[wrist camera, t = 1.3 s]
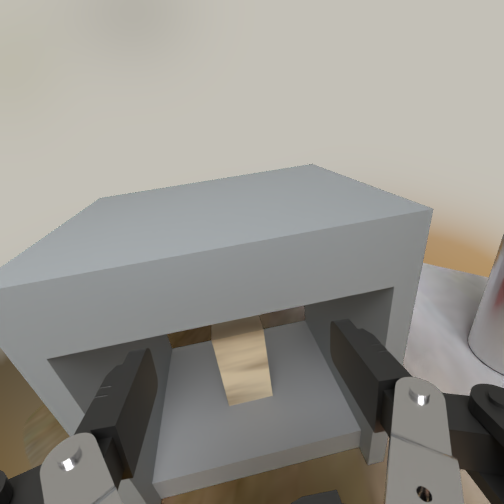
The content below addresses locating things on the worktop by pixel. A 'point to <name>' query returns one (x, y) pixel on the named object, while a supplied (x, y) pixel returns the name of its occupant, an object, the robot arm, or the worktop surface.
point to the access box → (218, 314)
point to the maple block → (242, 359)
